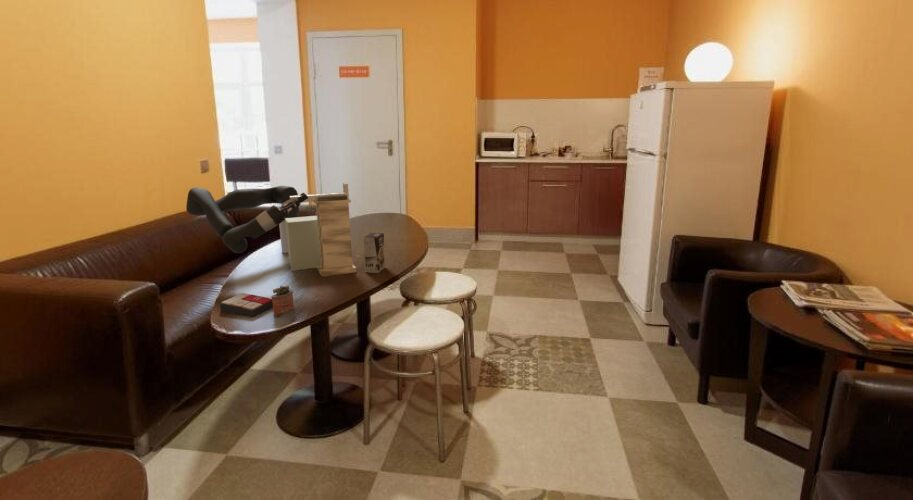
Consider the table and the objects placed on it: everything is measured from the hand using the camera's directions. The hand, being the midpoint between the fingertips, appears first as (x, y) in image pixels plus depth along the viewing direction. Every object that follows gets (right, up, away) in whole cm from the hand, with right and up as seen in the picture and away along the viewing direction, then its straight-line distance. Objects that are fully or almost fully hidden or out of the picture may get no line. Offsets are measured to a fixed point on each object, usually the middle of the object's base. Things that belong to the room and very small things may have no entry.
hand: (305, 195), depth 209 cm
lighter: (+3, -45, -34) cm, 57 cm away
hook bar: (+5, -2, +3) cm, 6 cm away
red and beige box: (-12, -45, -30) cm, 55 cm away
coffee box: (+27, -32, +15) cm, 44 cm away
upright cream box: (-5, -30, +22) cm, 37 cm away
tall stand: (+10, -32, +13) cm, 36 cm away
